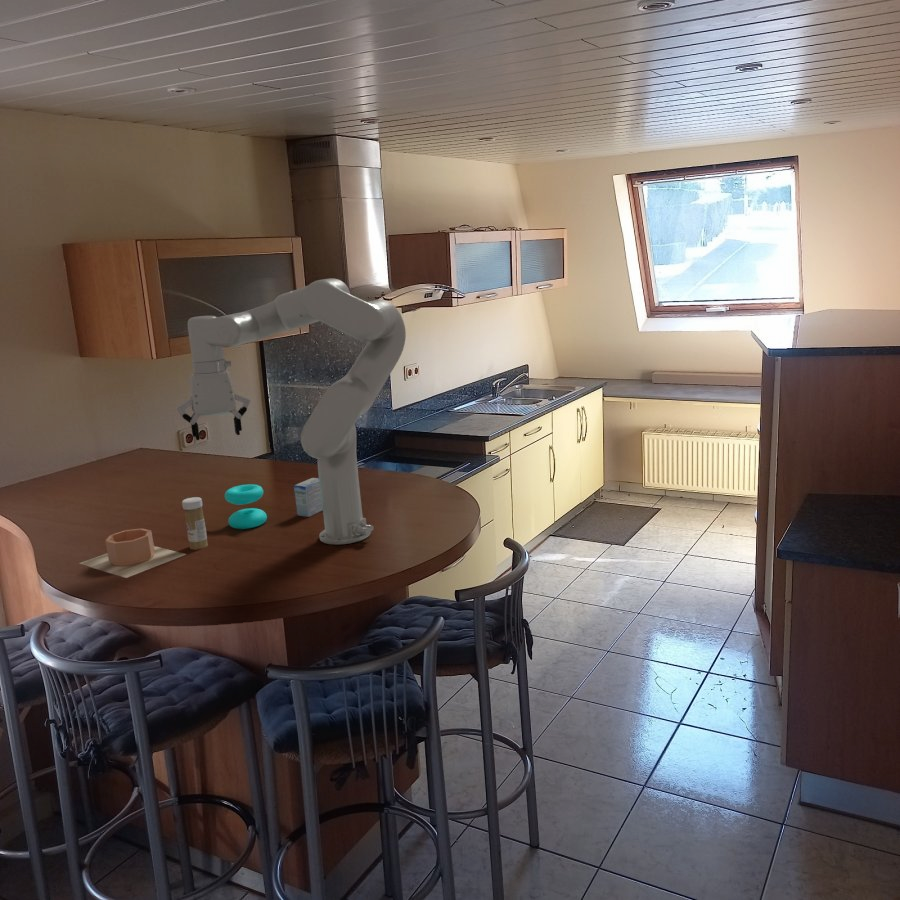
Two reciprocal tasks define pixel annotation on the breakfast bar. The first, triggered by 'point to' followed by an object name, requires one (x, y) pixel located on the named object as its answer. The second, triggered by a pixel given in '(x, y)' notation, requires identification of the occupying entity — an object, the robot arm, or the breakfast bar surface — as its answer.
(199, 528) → the spice jar
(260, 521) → the donuts
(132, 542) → the terracotta octagonal bowl
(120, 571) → the birch board
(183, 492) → the breakfast bar surface
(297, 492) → the medicine box
